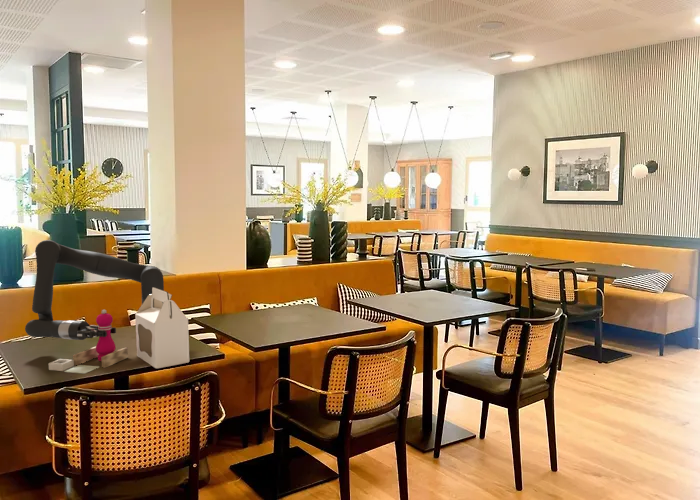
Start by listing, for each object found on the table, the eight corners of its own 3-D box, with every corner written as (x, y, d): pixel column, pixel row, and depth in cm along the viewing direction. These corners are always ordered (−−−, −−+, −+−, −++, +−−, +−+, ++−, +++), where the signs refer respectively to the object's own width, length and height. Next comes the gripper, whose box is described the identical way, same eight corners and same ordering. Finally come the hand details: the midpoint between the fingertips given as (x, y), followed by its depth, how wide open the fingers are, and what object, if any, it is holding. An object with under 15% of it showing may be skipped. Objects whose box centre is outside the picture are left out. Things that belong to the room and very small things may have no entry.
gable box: (189, 362, 224) (187, 291, 221) (156, 369, 215) (153, 295, 213) (168, 350, 241) (166, 284, 238) (136, 356, 233) (133, 287, 230)
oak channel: (97, 355, 234) (97, 345, 234) (127, 357, 231) (127, 347, 230) (73, 365, 221) (73, 355, 220) (105, 367, 217) (104, 357, 217)
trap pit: (60, 365, 221) (60, 358, 221) (73, 366, 219) (73, 359, 219) (48, 369, 215) (48, 363, 215) (62, 370, 214) (62, 364, 213)
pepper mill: (100, 356, 232) (97, 307, 230) (118, 356, 232) (116, 307, 230) (93, 362, 225) (91, 311, 223) (112, 361, 225) (110, 311, 223)
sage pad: (79, 365, 220) (79, 364, 220) (99, 367, 218) (99, 366, 218) (64, 372, 212) (64, 371, 212) (85, 373, 210) (85, 372, 210)
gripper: (60, 324, 224) (98, 327, 220) (85, 317, 237) (121, 319, 233) (61, 343, 224) (99, 346, 220) (86, 334, 238) (122, 337, 234)
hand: (110, 332), depth 227 cm, fingers closed on pepper mill, 5 cm apart
